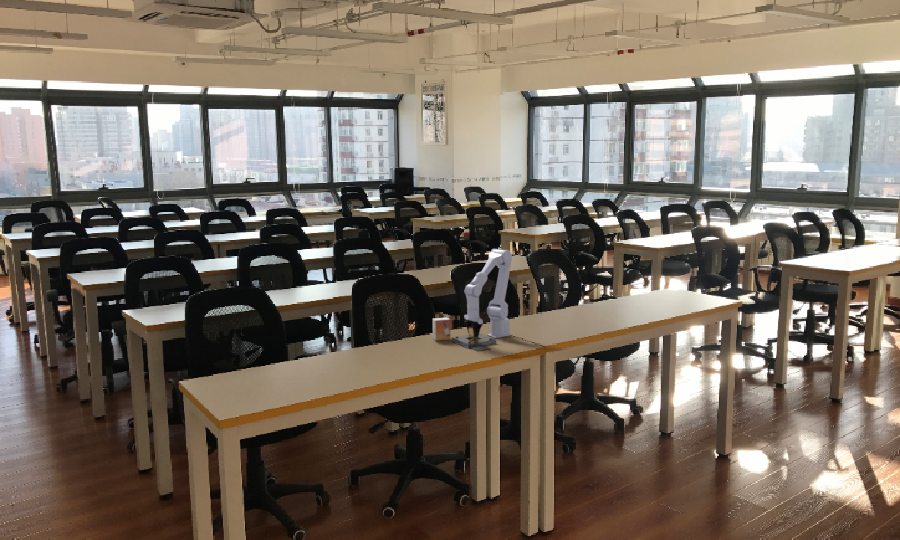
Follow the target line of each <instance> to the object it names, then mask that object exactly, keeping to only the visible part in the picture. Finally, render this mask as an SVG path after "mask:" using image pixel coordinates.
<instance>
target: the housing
mask: <svg viewBox="0 0 900 540" xmlns="http://www.w3.org/2000/svg"><path fill="white" fill-rule="evenodd" d="M451 342H452V343H455V344H456V345H459V346H462V347H465V348H467V349H471V348H470V347H476V346H482V345H483V346H488V345H489V346H491V345H495V344H497V338H494V337H491V336H489V335H487V334H483V333H480V332H479V336H478V340H472V341H471V340H469V334H464V335H458V336H451Z"/></svg>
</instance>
